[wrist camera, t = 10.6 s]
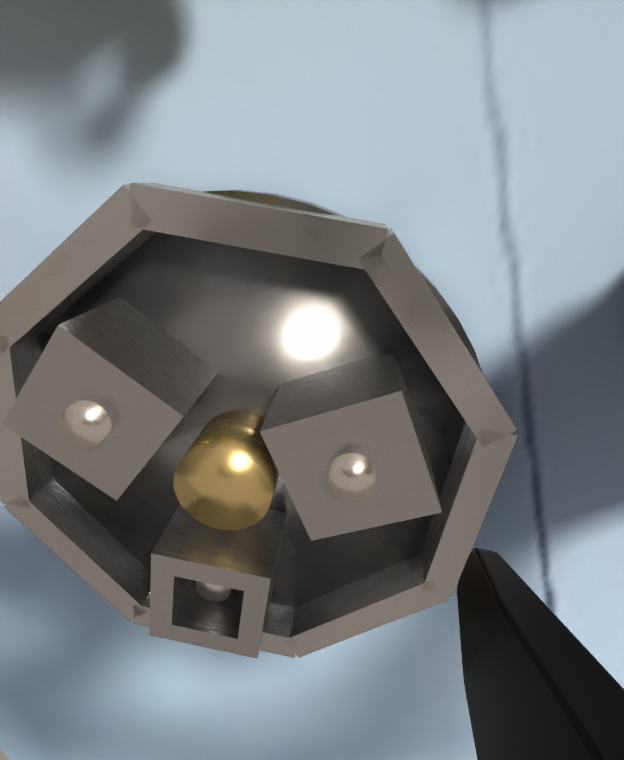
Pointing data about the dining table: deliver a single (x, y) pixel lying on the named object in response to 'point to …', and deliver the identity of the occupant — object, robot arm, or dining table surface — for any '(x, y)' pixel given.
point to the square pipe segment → (214, 582)
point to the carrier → (248, 406)
